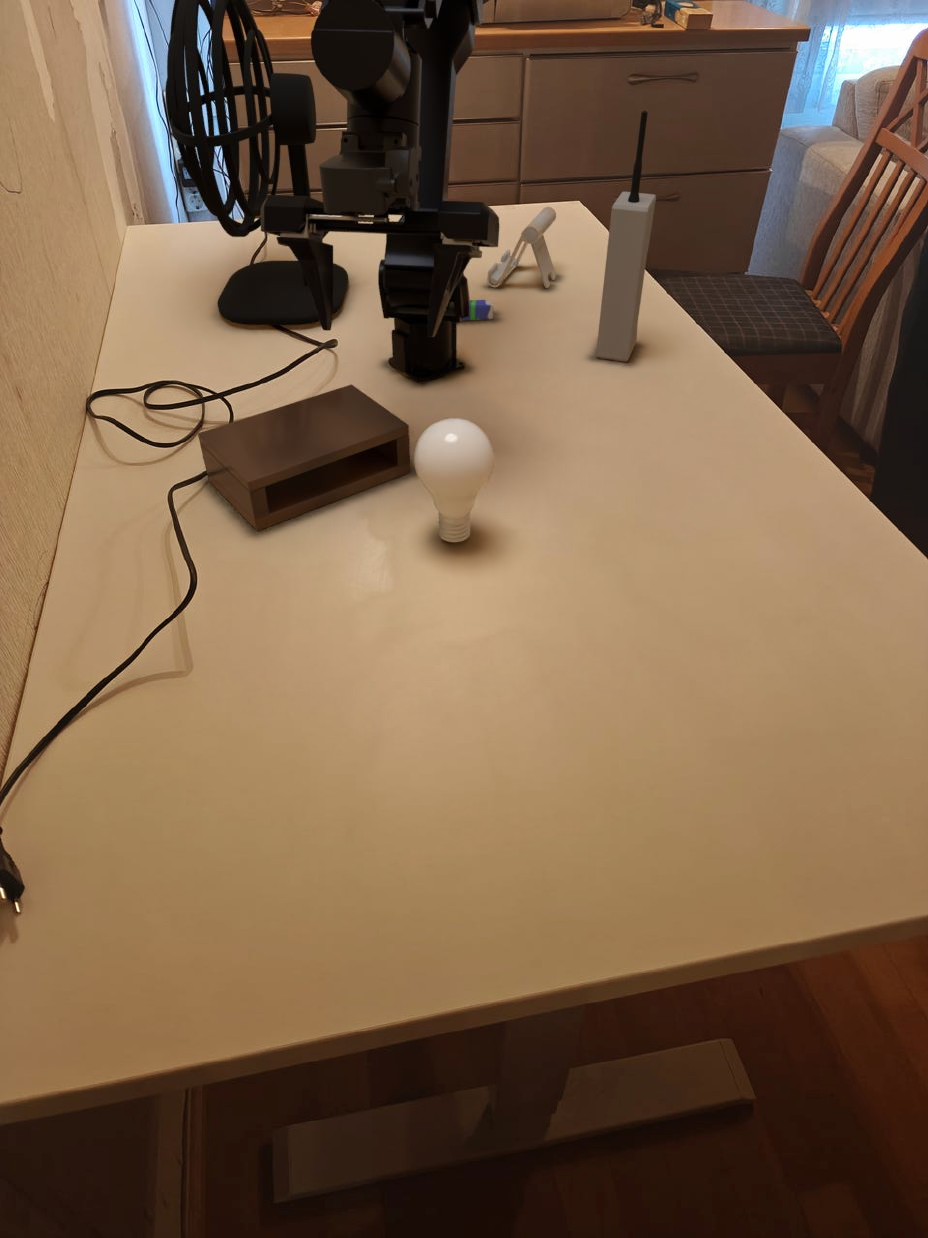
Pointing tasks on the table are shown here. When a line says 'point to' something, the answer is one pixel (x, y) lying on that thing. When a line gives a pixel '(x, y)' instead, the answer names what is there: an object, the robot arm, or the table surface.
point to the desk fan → (265, 285)
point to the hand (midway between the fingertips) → (378, 333)
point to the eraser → (480, 310)
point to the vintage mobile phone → (625, 265)
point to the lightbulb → (454, 471)
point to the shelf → (305, 455)
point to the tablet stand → (529, 236)
